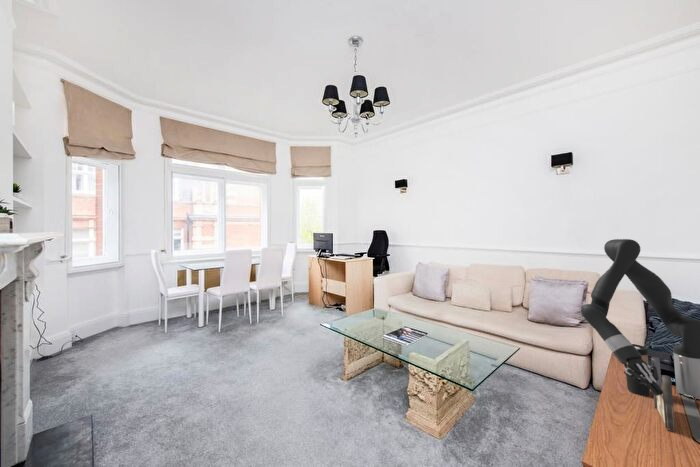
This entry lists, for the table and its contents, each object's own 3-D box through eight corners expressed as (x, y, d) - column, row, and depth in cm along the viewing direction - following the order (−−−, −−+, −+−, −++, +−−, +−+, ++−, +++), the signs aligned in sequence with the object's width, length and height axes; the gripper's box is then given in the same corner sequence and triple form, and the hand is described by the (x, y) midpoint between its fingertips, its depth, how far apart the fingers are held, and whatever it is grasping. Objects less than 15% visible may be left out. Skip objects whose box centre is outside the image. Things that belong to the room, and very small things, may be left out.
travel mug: (640, 387, 133) (636, 343, 134) (656, 396, 126) (652, 349, 126) (622, 387, 134) (618, 343, 135) (636, 396, 126) (633, 349, 127)
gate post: (658, 406, 119) (654, 356, 119) (665, 409, 116) (661, 359, 117) (653, 407, 118) (649, 357, 119) (660, 410, 116) (656, 359, 116)
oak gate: (655, 408, 116) (652, 362, 117) (664, 410, 115) (661, 363, 115) (666, 429, 104) (662, 377, 105) (676, 431, 103) (672, 378, 103)
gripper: (614, 346, 115) (652, 393, 103) (643, 342, 117) (684, 388, 105) (602, 354, 120) (637, 400, 108) (629, 351, 122) (667, 396, 110)
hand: (660, 394), depth 106 cm, fingers closed
